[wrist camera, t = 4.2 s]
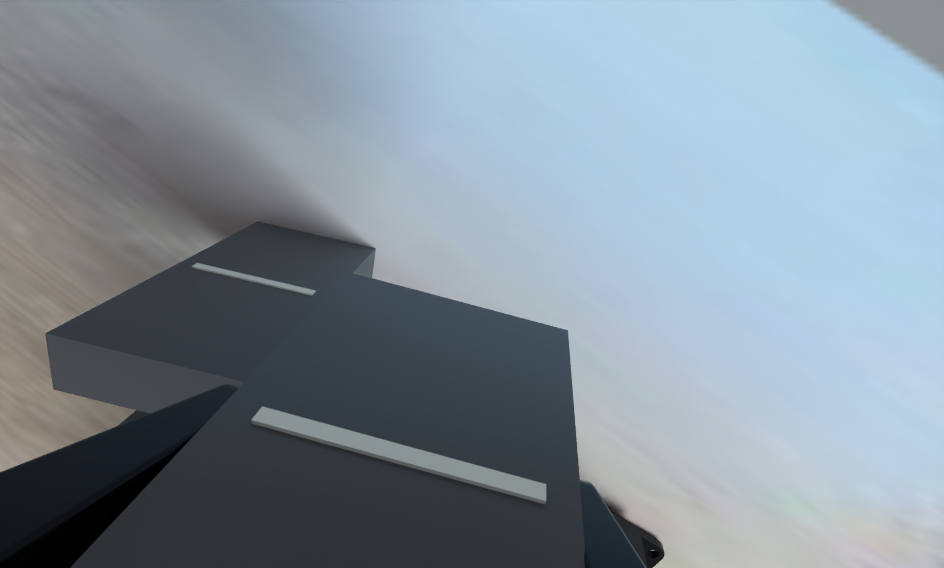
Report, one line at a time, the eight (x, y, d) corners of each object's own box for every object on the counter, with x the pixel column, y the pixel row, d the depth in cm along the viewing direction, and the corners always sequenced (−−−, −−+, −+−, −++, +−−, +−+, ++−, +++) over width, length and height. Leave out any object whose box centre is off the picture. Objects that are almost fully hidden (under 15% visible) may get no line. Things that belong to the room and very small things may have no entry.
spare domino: (546, 391, 12) (546, 1357, 3) (338, 335, 12) (-241, 1103, 3) (568, 328, 12) (650, 1327, 2) (347, 269, 12) (-356, 1010, 3)
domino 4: (370, 285, 22) (245, 439, 13) (256, 259, 22) (53, 391, 13) (375, 247, 22) (247, 380, 12) (257, 220, 22) (45, 331, 13)
